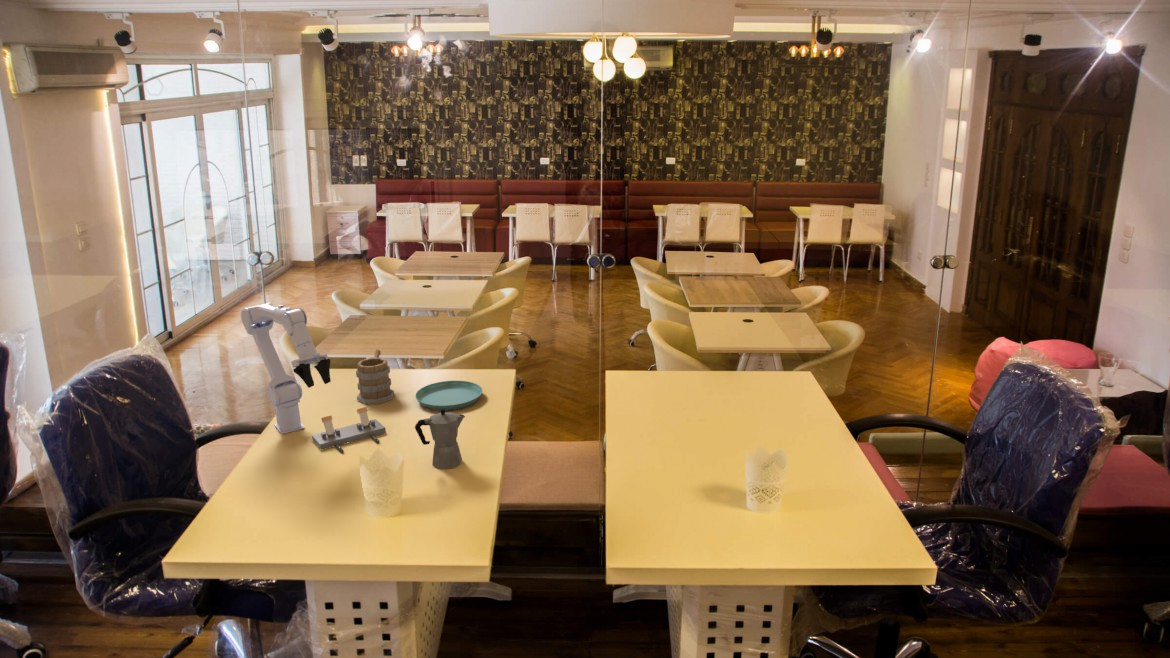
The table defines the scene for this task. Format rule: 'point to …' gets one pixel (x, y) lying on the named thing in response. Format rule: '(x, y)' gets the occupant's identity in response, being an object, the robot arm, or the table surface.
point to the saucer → (449, 395)
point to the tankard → (374, 380)
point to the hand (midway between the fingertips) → (319, 384)
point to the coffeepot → (443, 438)
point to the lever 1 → (328, 425)
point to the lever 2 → (363, 417)
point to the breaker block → (349, 435)
